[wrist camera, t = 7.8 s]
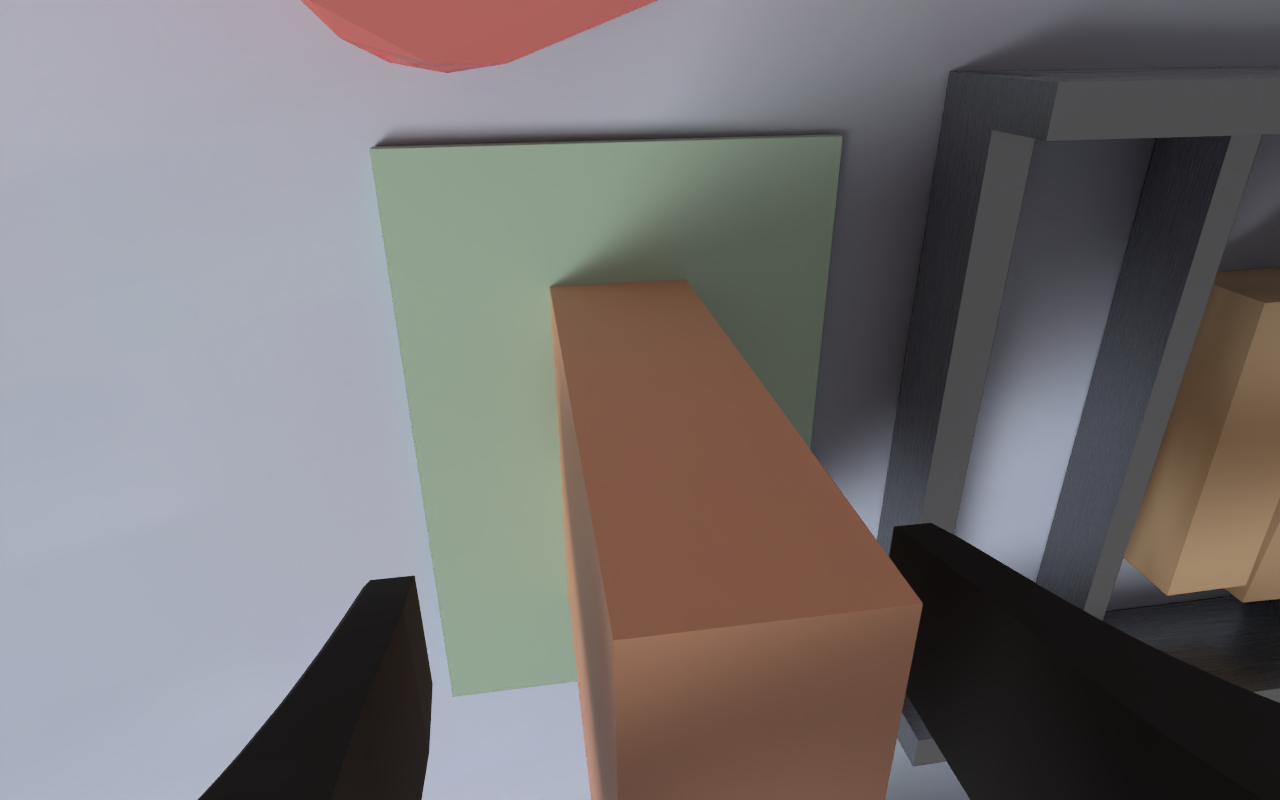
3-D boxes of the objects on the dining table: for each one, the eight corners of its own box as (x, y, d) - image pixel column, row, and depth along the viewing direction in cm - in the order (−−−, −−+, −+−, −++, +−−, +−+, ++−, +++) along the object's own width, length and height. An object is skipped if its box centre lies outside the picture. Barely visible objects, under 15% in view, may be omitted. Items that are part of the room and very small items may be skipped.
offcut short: (1173, 530, 20) (1246, 585, 18) (1101, 539, 20) (1167, 595, 18) (1259, 263, 17) (1357, 294, 15) (1176, 271, 17) (1264, 303, 15)
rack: (1267, 613, 21) (1376, 696, 19) (857, 666, 20) (913, 766, 17) (1512, 62, 15) (1726, 69, 13) (950, 71, 14) (1058, 81, 11)
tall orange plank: (679, 582, 17) (833, 1062, 9) (568, 595, 17) (626, 1105, 9) (686, 279, 14) (923, 603, 6) (549, 286, 14) (613, 641, 6)
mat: (785, 645, 19) (789, 654, 19) (453, 686, 18) (452, 696, 18) (836, 134, 14) (842, 136, 14) (372, 146, 13) (369, 149, 12)
